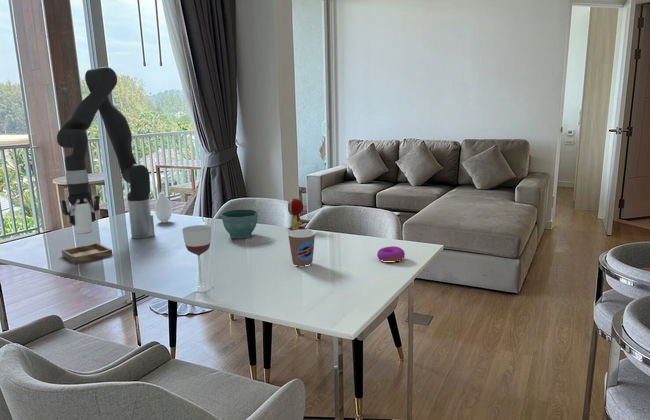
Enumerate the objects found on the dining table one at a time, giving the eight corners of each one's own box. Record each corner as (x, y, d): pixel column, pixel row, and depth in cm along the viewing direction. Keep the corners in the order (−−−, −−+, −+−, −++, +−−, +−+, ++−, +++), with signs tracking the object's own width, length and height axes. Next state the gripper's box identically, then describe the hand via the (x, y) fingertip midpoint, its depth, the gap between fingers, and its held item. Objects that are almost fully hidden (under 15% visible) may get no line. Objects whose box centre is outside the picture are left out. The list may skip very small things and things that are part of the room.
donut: (378, 255, 186) (378, 244, 185) (405, 256, 184) (405, 245, 183) (375, 263, 176) (375, 252, 175) (403, 265, 174) (403, 253, 173)
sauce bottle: (153, 223, 244) (150, 189, 240) (161, 220, 251) (158, 186, 247) (168, 224, 242) (164, 189, 239) (175, 220, 250) (172, 186, 246)
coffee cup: (295, 270, 170) (294, 238, 168) (284, 262, 179) (283, 231, 176) (321, 265, 175) (320, 234, 172) (309, 258, 184) (308, 227, 181)
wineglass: (190, 284, 159) (185, 225, 155) (216, 283, 160) (212, 224, 156) (185, 293, 151) (180, 232, 147) (213, 292, 152) (208, 230, 148)
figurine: (288, 227, 231) (287, 197, 228) (308, 227, 229) (307, 197, 226) (284, 232, 222) (283, 200, 219) (305, 232, 221) (304, 200, 218)
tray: (98, 248, 202) (97, 242, 202) (112, 255, 192) (111, 249, 191) (62, 256, 193) (61, 250, 192) (75, 264, 182) (74, 257, 182)
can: (85, 234, 187) (81, 204, 184) (71, 234, 188) (67, 204, 185) (96, 230, 193) (93, 201, 190) (82, 229, 194) (78, 200, 192)
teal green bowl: (266, 234, 219) (265, 211, 217) (242, 243, 206) (240, 218, 204) (239, 230, 228) (238, 207, 226) (215, 238, 215) (213, 214, 212)
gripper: (93, 178, 194) (98, 218, 197) (54, 182, 184) (60, 225, 187) (100, 180, 188) (105, 221, 192) (60, 184, 179) (66, 228, 182)
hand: (82, 223), depth 190 cm, fingers closed on can, 6 cm apart
